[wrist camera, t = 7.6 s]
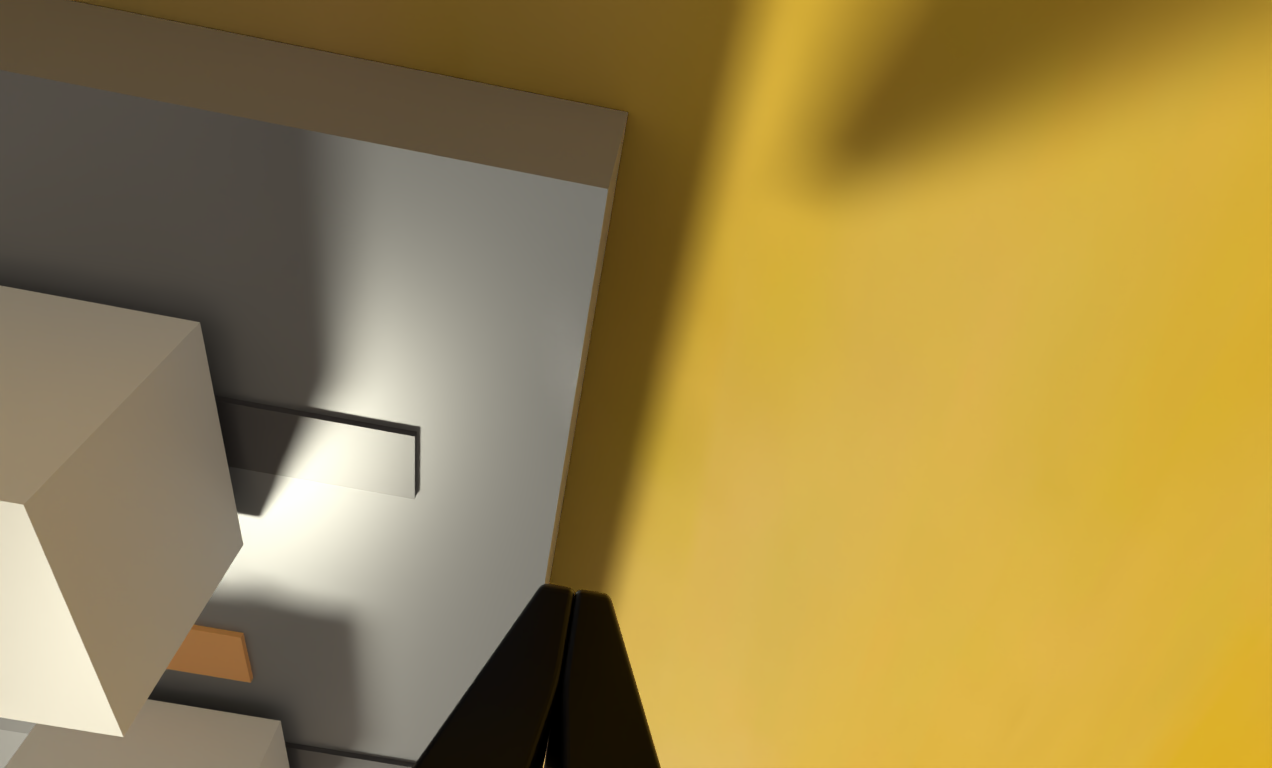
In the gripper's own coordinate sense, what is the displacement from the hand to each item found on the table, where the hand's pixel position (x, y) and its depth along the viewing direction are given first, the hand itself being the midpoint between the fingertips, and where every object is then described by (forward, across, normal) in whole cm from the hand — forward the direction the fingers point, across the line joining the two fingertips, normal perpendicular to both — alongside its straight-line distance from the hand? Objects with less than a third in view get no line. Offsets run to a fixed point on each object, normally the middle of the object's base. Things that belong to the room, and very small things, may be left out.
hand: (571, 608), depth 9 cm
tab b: (+2, +7, 0) cm, 7 cm away
